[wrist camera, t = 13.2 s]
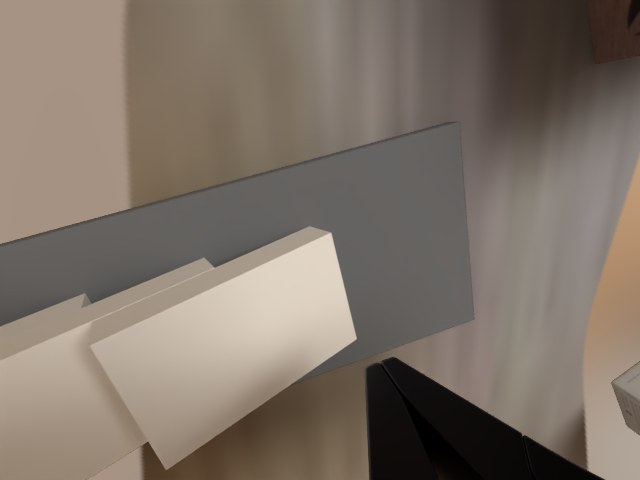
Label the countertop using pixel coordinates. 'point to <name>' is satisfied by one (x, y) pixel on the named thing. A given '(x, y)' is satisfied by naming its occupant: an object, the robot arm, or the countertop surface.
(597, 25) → the tissue box cover
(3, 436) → the domino
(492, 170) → the countertop surface
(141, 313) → the white angular block
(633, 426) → the small box
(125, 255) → the rubber mat
